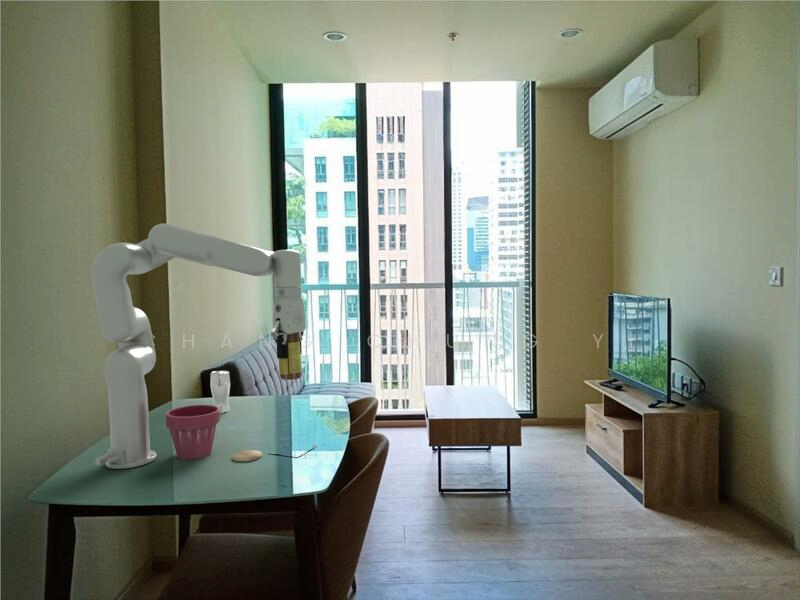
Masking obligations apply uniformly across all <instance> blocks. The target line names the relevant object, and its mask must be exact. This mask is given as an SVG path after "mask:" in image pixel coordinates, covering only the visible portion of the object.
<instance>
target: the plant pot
mask: <svg viewBox="0 0 800 600" xmlns="http://www.w3.org/2000/svg"><path fill="white" fill-rule="evenodd" d="M220 416H221V414H220V412H219V408H218V407H216V406H214V404H213V405H212V404H191V405H185V406H180V407H176V408H175V407H174V408H171V409H169V410H168V411H167V412H166V413H165V426H166V428H167V429H169V432H170V435H171V438H172V439H171V440H172V442H173V446H174V451H175V454H176V457H177V458H178V459H179V460H182V461H194V460H199V459H198V458H200V459H202V457H203V458H206V457H208V456H210V455H211V454H212V452H213V451H212V449H213V444H214V440H215V435H216V428H217V425H218V424H219V423H220V420H221V419H220V418H221V417H220ZM210 453H211V454H210ZM209 454H210V455H209ZM207 455H208V456H207ZM205 456H206V457H205ZM193 459H194V460H193Z"/></svg>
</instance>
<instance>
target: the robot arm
mask: <svg viewBox="0 0 800 600" xmlns="http://www.w3.org/2000/svg"><path fill="white" fill-rule="evenodd" d="M300 253H301V252H299V251H298V250H296V249H279V250H276V251H271V250H265V249H262V248H259V247H254V246H252V245H251V246H250V245H246V244H242V243H239V242H234V241H231V240H226V239H223V238H222V237H219V236H217V235H213V234H210V233H205V232H202V231H201V232H200V231H198V230H194V229H189V228H186V227H181V226H179V225H174V224H170V223H159V224H156V225H154V226H153V227H152V228H151V229H150V230H149V233H148V238H145V239H144V240H141V241H140V242H138V243H131V242H116V243H112V244H110V245H108V246H106V247H104V248H103V249H102V250H101V251H99V253H97V255H96V256H95V258H94V259H93V262H92V265H91V268H90V269H91V270H90V274H91V275H90V276H91V284H92V288H93V291H94V296H95V302H96V303H95V304H96V309H97V314H98V319H99V324H100V330H101V333H102V335H103V337H104V339H106V341H108V342H111V343H113V344H117V343H118V345H117V346H118V348H117V349H115V350H114V351H112V352H111V353H109V355H108V356H107V358H106V360H105V362H104V365H103V366H104V367H103V374H104V378H105V383H106V389H107V390H106V391H107V396H108V397H107V399H108V414H109V431H110V436H109V438H110V448H107V453H105V455H100V456H98V457H96V458H95V459H94V463H95V465H96V466H99V465H102V464H105V465H104V466H105V467H107V468H109V469H114V470H115V469H116V470H117V469H118V470H121V469H131V468H137V467H141V466H143V465H147V464H149V463H152V462H153V461H154V460H156V458H157V452H156V451H154V450H152V449H151V444H150V443H151V440H150V421H149V417H150V415H149V402H148V401H149V399H148V390H147V384H146V379H145V375H147V374H148V373H150V372H151V371H152V370H153V368H155V365H156V362H157V355H156V354H157V353H156V348H155V344H154V338H153V333H152V332H153V331H152V329H151V328H152V327H151V323H150V320H149V318H148V316H147V314H146V313H145V311H143V310H142V309H140V308H138V307H135V306H134V304H133V300H132V293H131V290H130V287H129V285H128V282H127V276H128V275H143V274H145V273H147V272H149V271H152V270H154V269H156V268H158V267H161V266H163V264H166V263H168V262H169V261H171V260H173V259H175V258H176V259H180V260H183V261H184V260H185V261H189V262H193V263H197V264H200V265H205V266H208V267H217V268H220V269H225V270H228V271H233V272H238V273H241V274H244V275H245V274H246V275H249V276H254V277H266V276H273V287H274V288H273V289H274V290H273V291H274V294H273V295H274V301H273V302H274V303H273V308H272V313H273V314H272V329H271V331H270V334H271V337H272V338H273V340H274V343H275V345H276V357H277V359H279V358H282V359H286V358H288V347H287V344H286V340H287V335H288V334H294V333H298V332H299V340H300V352H301V355H302V353H303V351H302V341H303V336H304V333H305V330H306V328H307V327H306V314H305V312H306V311H305V307H304V306H305V305H304V300H303V297H302V277H301V276H302V270H301V269H302V267H301V266H302V265H301V263H302V262H301V260H302V259H301V254H300ZM281 331H283V332H284V333H280V332H281ZM281 336H283V339H282V337H281Z"/></svg>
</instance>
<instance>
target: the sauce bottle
mask: <svg viewBox="0 0 800 600" xmlns="http://www.w3.org/2000/svg"><path fill="white" fill-rule="evenodd" d="M280 333H284V332H283V331H281V332H280ZM281 337H282V339H283V336H281ZM286 344H287V347H288V358H286V359H282V358H278V370H279V371H278V372H279V377H280V379H281V380H289V381H290V380H291V381H292V380H298V379H300V378H302V371H303V370H302V369H303V368H302V356H301V355H302V354H301V352H300V340H299V332H298V333H294V334H288V335H287V340H286Z"/></svg>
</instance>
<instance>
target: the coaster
mask: <svg viewBox="0 0 800 600" xmlns="http://www.w3.org/2000/svg"><path fill="white" fill-rule="evenodd" d="M261 456H262V457H263V452H262V451H260V450H255V449H253V450H252V449H251V450H250V449H249V450H242V451H239V452H236V453H234V454H233V455H232V456H231V458H233V459H232V461H233V460H236V461H250V462H253V461H252V460H255V459H258V458H260V457H261ZM262 457H261V458H262ZM261 458H260V459H261ZM258 460H259V459H258ZM236 461H235V462H236ZM255 461H256V460H255Z"/></svg>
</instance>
